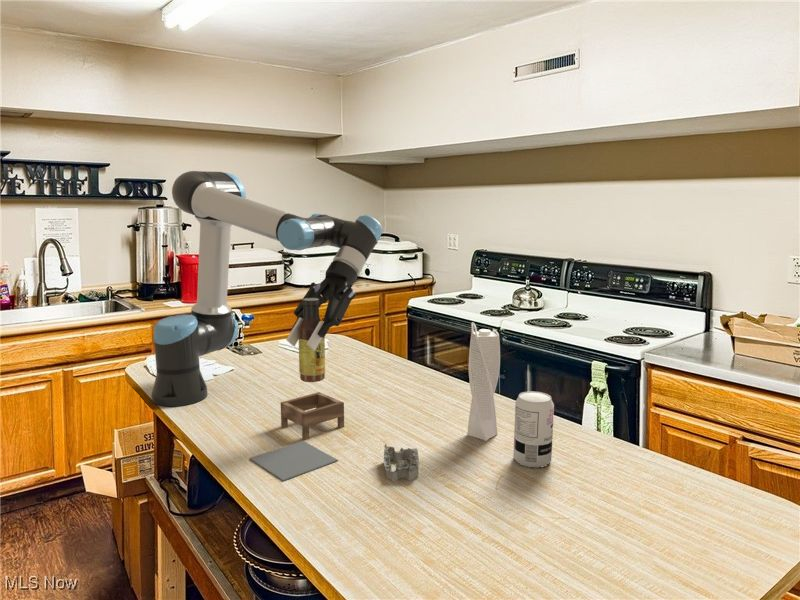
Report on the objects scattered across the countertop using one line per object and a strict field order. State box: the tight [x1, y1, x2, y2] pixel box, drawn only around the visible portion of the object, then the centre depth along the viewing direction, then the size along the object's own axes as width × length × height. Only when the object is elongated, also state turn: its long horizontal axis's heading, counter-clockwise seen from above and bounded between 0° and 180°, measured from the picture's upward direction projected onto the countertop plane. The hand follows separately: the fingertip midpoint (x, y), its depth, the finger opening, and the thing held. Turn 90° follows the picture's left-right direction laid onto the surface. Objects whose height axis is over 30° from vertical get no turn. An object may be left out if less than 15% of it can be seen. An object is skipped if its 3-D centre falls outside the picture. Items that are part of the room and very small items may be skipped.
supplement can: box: [513, 390, 555, 468], centre depth 131 cm, size 8×8×15 cm
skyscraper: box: [466, 321, 501, 442], centre depth 144 cm, size 8×8×28 cm
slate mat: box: [249, 440, 339, 482], centre depth 132 cm, size 14×14×1 cm
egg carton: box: [383, 443, 420, 482], centre depth 128 cm, size 11×8×4 cm
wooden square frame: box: [280, 391, 345, 441], centre depth 150 cm, size 11×12×6 cm
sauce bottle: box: [298, 298, 326, 383], centre depth 143 cm, size 7×6×20 cm
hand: (300, 345), depth 140 cm, fingers closed on sauce bottle, 6 cm apart
